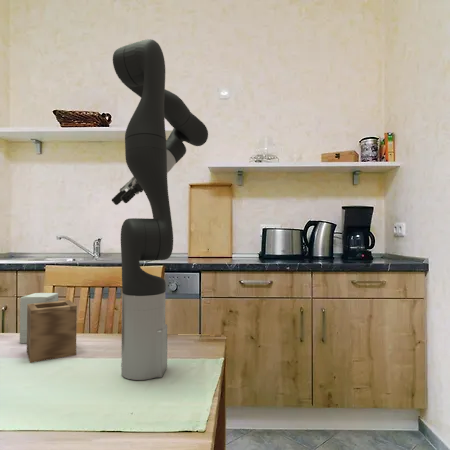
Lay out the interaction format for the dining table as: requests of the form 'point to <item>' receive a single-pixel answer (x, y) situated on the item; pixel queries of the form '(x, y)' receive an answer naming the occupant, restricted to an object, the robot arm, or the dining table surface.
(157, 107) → the robot arm
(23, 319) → the supplement box
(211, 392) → the dining table surface
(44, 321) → the brown wooden bin
